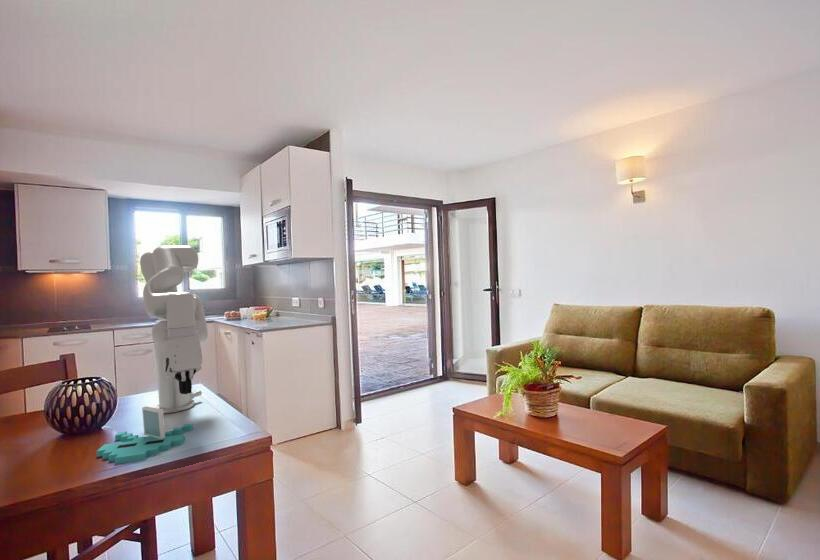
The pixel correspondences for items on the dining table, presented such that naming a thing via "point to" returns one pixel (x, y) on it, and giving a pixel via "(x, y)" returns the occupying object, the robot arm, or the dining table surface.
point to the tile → (153, 422)
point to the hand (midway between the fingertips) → (185, 393)
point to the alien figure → (141, 445)
